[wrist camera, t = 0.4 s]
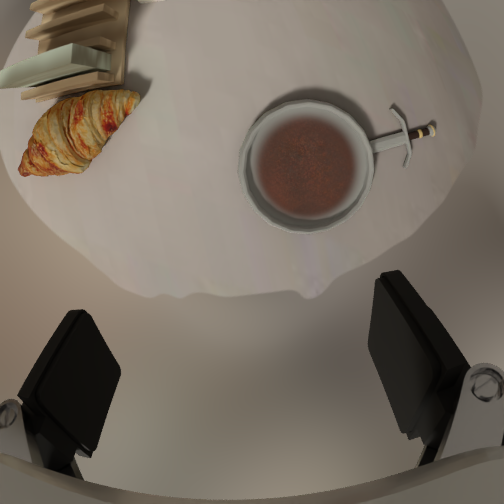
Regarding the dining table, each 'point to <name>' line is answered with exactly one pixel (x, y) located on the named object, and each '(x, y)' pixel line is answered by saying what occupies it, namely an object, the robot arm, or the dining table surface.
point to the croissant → (75, 132)
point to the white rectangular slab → (147, 1)
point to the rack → (73, 49)
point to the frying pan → (311, 165)
